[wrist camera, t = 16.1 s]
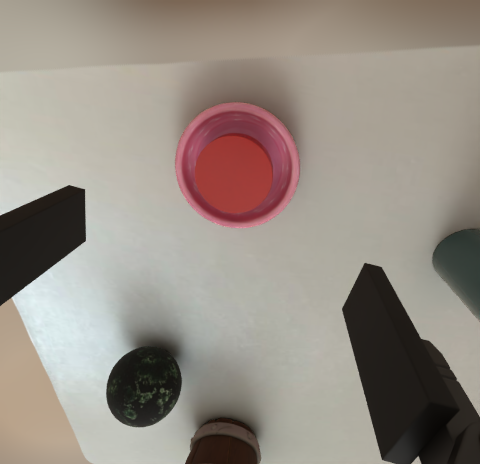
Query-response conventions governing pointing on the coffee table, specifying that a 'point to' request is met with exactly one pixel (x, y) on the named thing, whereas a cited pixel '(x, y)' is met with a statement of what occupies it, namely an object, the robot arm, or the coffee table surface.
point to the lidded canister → (461, 266)
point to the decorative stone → (143, 386)
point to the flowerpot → (224, 444)
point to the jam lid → (234, 173)
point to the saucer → (257, 126)
